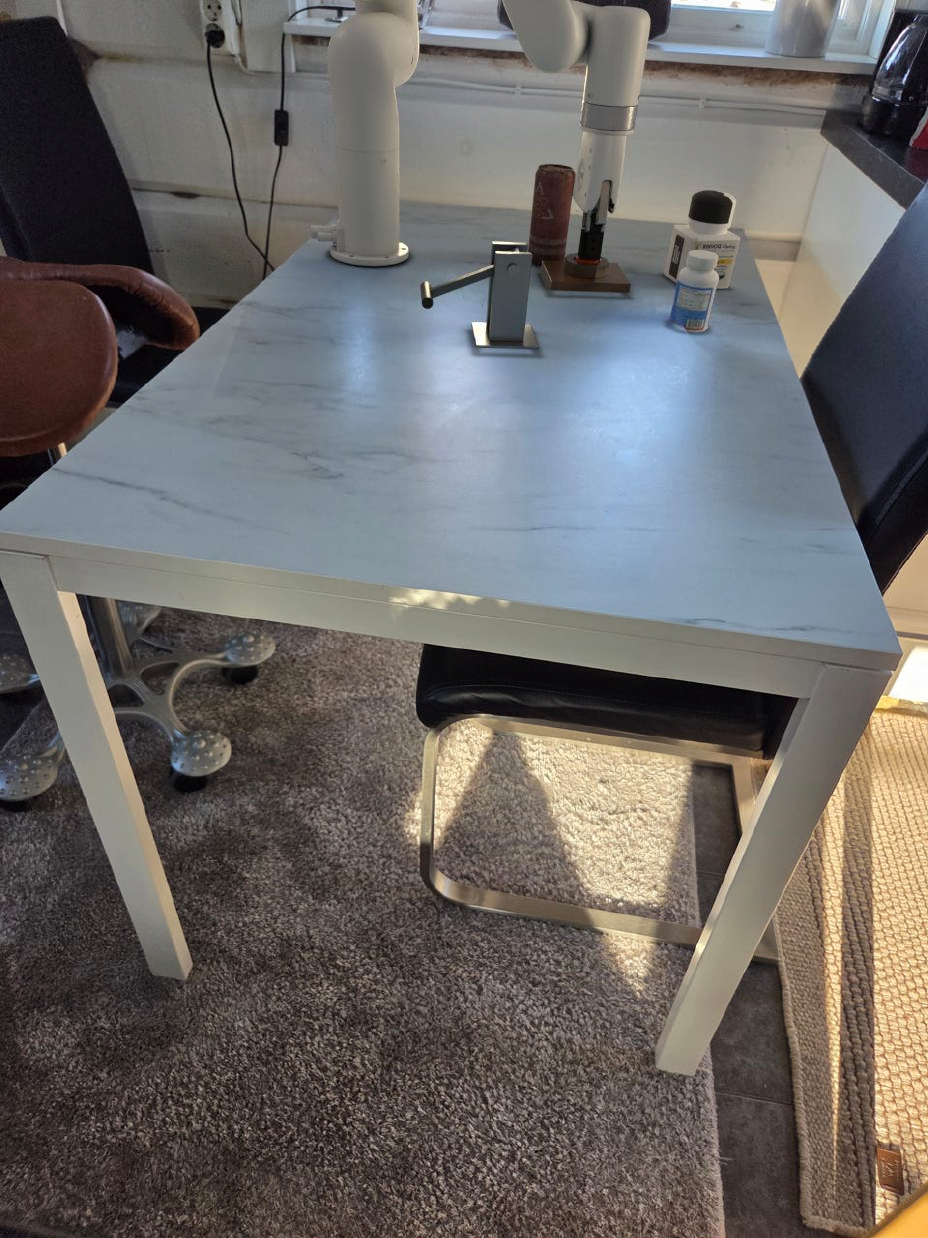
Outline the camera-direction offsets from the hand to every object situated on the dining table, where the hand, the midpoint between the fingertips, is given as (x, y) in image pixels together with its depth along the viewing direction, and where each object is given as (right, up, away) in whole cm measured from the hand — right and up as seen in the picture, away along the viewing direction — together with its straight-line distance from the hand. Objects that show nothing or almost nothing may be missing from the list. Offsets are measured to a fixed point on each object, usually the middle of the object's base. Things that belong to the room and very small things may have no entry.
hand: (588, 258), depth 125 cm
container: (+18, -1, +8) cm, 20 cm away
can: (-5, +4, +12) cm, 14 cm away
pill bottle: (+13, -13, -8) cm, 20 cm away
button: (0, -1, +1) cm, 2 cm away
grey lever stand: (-14, -19, -17) cm, 29 cm away
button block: (0, -3, +3) cm, 4 cm away
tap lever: (-18, -13, -22) cm, 31 cm away
